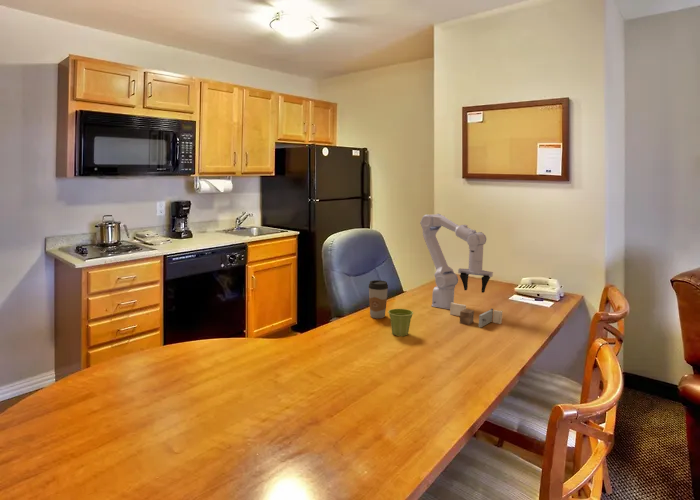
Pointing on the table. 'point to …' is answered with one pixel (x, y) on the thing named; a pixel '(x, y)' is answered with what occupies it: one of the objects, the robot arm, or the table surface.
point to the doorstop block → (466, 316)
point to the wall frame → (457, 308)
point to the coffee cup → (378, 298)
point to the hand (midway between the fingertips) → (474, 291)
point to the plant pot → (400, 321)
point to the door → (485, 318)
